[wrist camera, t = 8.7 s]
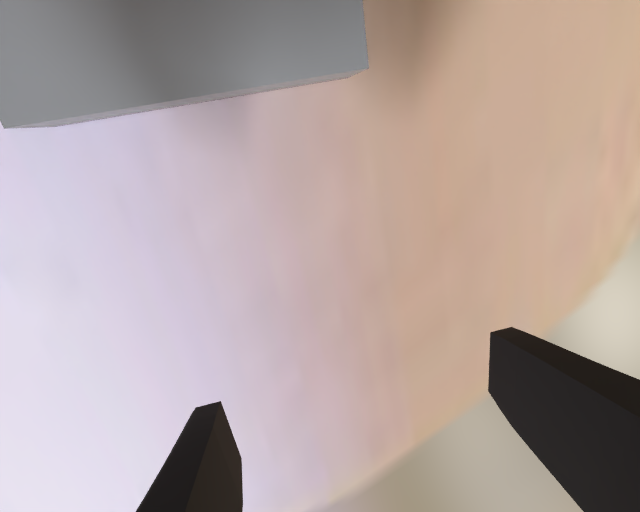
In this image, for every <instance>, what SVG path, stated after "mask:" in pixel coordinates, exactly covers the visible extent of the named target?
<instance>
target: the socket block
mask: <svg viewBox="0 0 640 512" xmlns="http://www.w3.org/2000/svg"><path fill="white" fill-rule="evenodd" d="M368 68H369V65H368V54H367V43H366V33H365V22H364V11H363V1H362V0H0V121H1V123H2V125H3V127H4V128H35V127H57V126H63V125H69V124H75V123H81V122H86V121H92V120H98V119H104V118H110V117H116V116H122V115H128V114H134V113H140V112H146V111H152V110H158V109H164V108H170V107H176V106H182V105H188V104H194V103H200V102H206V101H212V100H218V99H224V98H230V97H236V96H242V95H248V94H254V93H260V92H266V91H272V90H278V89H284V88H290V87H296V86H302V85H308V84H314V83H320V82H326V81H332V80H338V79H344V78H348V77H351V76H353V75H355V74H357V73H359V72H362V71H364V70H366V69H368Z"/></svg>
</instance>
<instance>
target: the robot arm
mask: <svg viewBox="0 0 640 512" xmlns="http://www.w3.org/2000/svg"><path fill="white" fill-rule="evenodd" d="M488 391H489V393H490V394H491V396H492V397H493V399H494V400H495V402H496V403H497V405H498V407H499V408H500V410H501V411H502V413H503V414H504V415H505V417H506V418H507V420H508V421H509V423H510V424H511V425H512V427H513V428H514V429H515V431H516V432H517V433H518V434H519V436H520V437H521V438H522V439H523V440H524V442H525V443H526V444H527V445H528V446H529V448H530V449H531V450H532V451H533V452H534V454H535V455H536V456H537V457H538V458H539V460H540V461H541V462H542V463H543V464H544V465H545V467H546V468H547V469H548V470H549V471H550V473H551V474H552V475H553V476H554V477H555V478H556V480H557V481H558V482H559V483H560V484H561V485H562V487H563V488H564V489H565V490H566V491H567V493H568V494H569V495H570V496H571V497H572V498H573V500H574V501H575V502H576V503H577V504H578V506H579V507H580V508H581V509H582V510H583V511H584V512H640V380H639V379H636V378H634V377H631V376H629V375H626V374H624V373H621V372H619V371H616V370H613V369H611V368H609V367H606V366H604V365H602V364H599V363H597V362H594V361H592V360H590V359H587V358H585V357H582V356H580V355H578V354H576V353H573V352H571V351H568V350H566V349H564V348H562V347H559V346H557V345H555V344H552V343H550V342H547V341H545V340H543V339H540V338H538V337H536V336H533V335H531V334H528V333H526V332H523V331H521V330H518V329H515V328H513V327H510V328H506V329H502V330H498V331H494V332H491V333H490V360H489V387H488ZM242 507H243V494H242V463H241V456H240V453H239V451H238V448H237V445H236V442H235V440H234V437H233V434H232V431H231V428H230V426H229V423H228V420H227V417H226V415H225V412H224V409H223V406H222V404H221V401H220V402H216V403H212V404H208V405H204V406H200V407H196V408H195V410H194V411H193V413H192V414H191V416H190V418H189V420H188V422H187V423H186V425H185V427H184V429H183V431H182V433H181V434H180V436H179V438H178V440H177V442H176V444H175V445H174V447H173V449H172V451H171V453H170V454H169V456H168V458H167V460H166V461H165V463H164V465H163V467H162V468H161V470H160V472H159V474H158V475H157V477H156V479H155V480H154V482H153V484H152V485H151V487H150V489H149V491H148V492H147V494H146V496H145V497H144V499H143V501H142V502H141V504H140V506H139V507H138V509H137V511H136V512H242Z"/></svg>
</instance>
